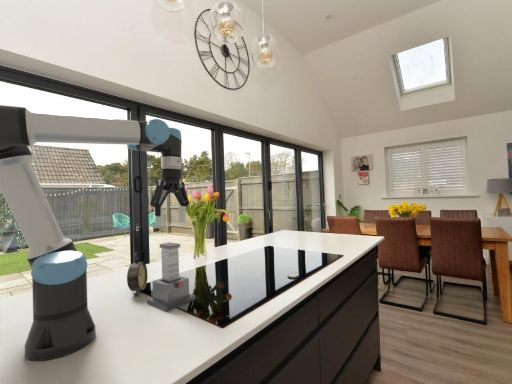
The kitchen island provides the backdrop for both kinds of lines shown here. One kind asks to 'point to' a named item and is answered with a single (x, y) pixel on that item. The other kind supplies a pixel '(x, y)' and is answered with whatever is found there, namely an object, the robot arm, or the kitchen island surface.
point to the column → (170, 262)
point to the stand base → (170, 294)
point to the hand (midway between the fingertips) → (171, 223)
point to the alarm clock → (137, 276)
